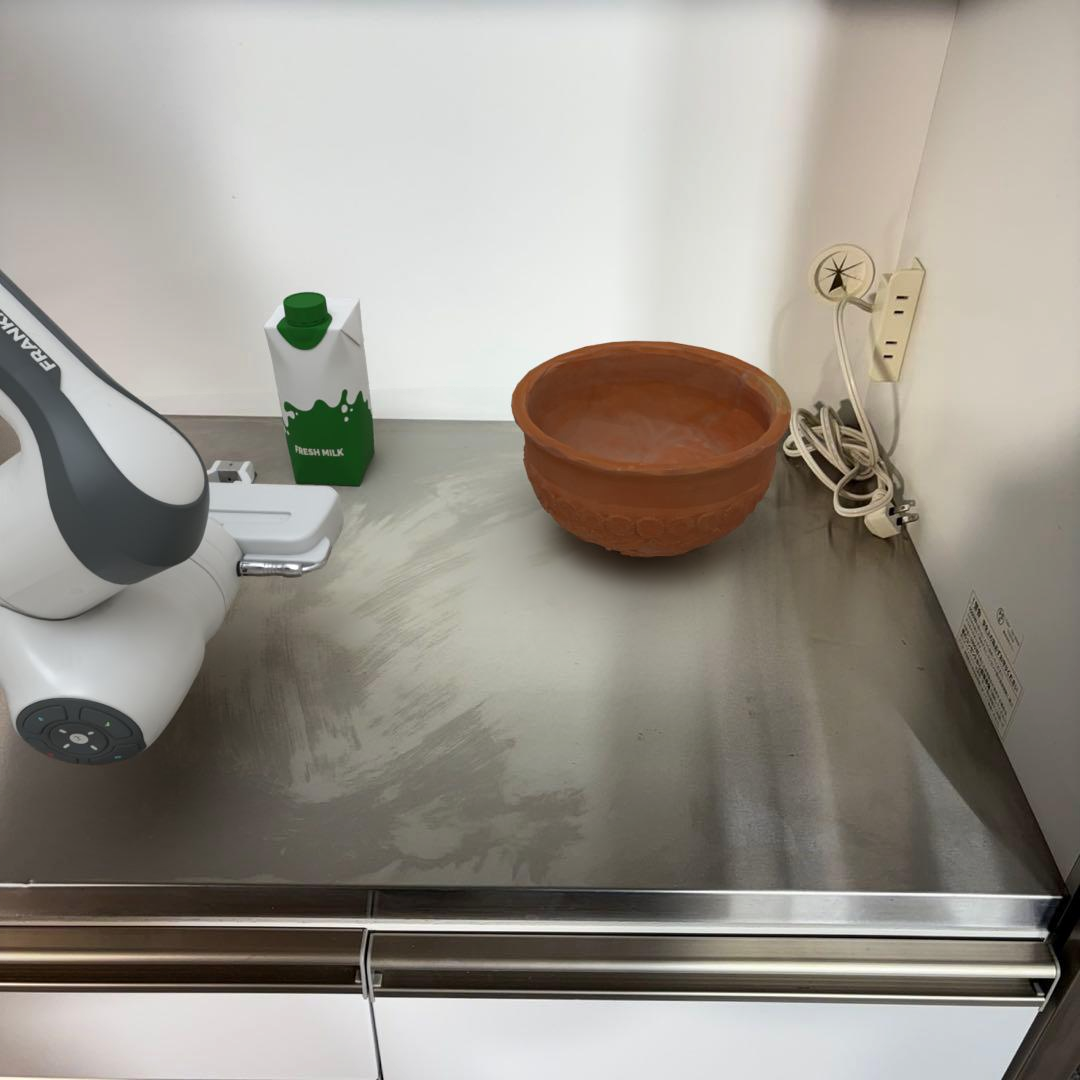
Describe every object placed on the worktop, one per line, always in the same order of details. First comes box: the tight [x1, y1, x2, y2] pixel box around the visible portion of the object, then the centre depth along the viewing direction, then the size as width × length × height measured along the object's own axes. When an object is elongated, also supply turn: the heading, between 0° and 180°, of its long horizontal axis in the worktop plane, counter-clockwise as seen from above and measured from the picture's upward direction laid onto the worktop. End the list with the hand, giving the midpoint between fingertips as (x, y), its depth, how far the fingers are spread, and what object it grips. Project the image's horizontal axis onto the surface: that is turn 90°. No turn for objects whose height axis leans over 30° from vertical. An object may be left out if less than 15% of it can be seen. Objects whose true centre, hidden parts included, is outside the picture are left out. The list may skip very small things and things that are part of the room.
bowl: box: [510, 340, 792, 558], centre depth 91 cm, size 25×25×15 cm
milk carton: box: [263, 291, 375, 487], centre depth 100 cm, size 9×9×20 cm
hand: (236, 468), depth 80 cm, fingers closed
